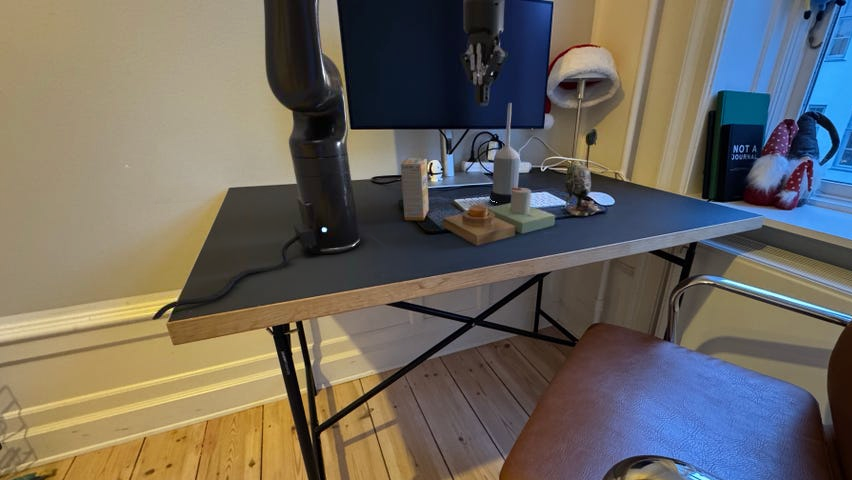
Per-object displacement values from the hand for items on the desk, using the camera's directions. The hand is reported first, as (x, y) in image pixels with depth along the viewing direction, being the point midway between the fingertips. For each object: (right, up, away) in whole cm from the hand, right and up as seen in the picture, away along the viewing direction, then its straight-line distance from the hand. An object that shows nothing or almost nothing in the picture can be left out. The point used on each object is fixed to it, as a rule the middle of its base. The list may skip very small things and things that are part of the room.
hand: (481, 105), depth 75 cm
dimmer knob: (+9, -20, +11) cm, 24 cm away
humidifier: (+6, -15, +26) cm, 31 cm away
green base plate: (+9, -22, +12) cm, 27 cm away
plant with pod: (+25, -19, +19) cm, 37 cm away
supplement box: (-16, -21, +15) cm, 30 cm away
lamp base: (-1, -25, +5) cm, 26 cm away
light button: (-1, -22, +4) cm, 22 cm away
